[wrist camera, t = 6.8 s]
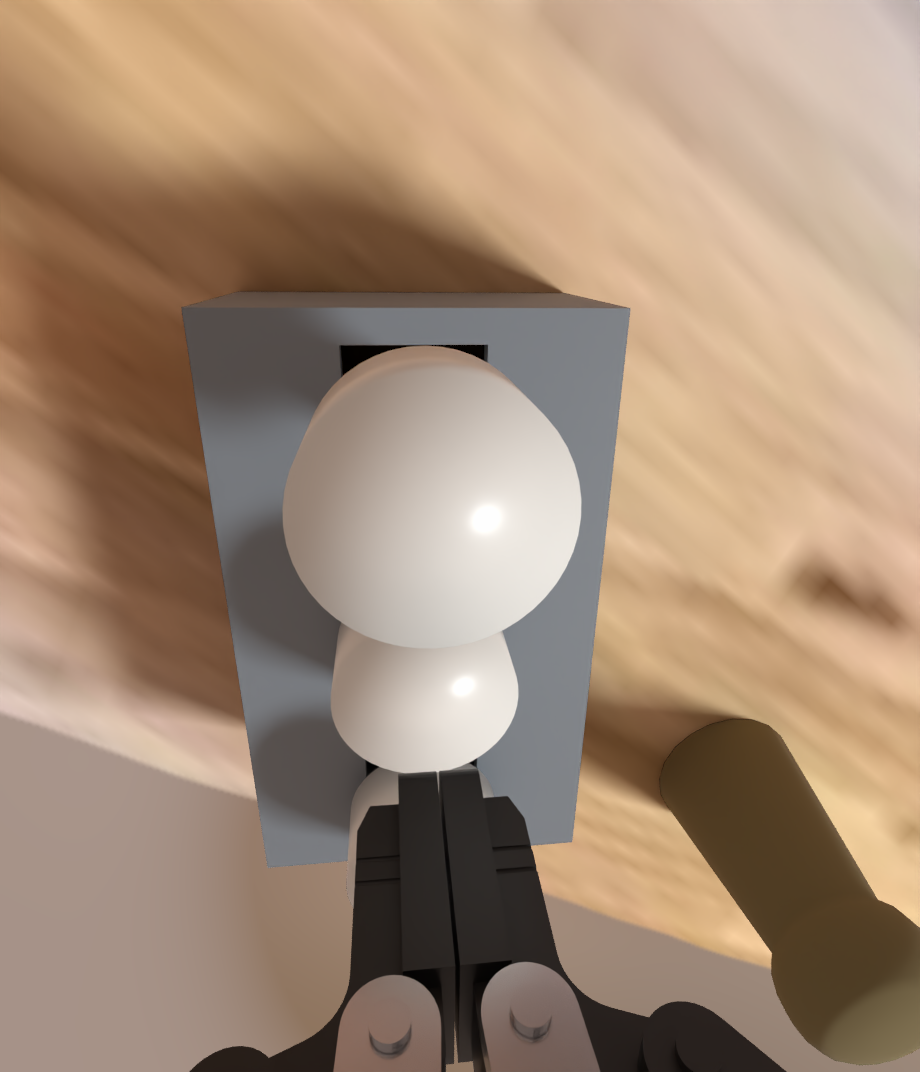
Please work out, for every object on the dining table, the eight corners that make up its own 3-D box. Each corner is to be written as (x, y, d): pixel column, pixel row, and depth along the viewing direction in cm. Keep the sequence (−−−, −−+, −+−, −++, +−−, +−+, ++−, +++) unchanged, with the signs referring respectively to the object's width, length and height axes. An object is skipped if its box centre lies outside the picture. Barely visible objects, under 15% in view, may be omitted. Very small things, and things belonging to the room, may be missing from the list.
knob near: (322, 314, 16) (265, 371, 8) (496, 314, 17) (594, 369, 9) (334, 481, 18) (296, 655, 10) (491, 477, 18) (569, 641, 11)
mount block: (238, 291, 19) (181, 307, 14) (564, 292, 20) (630, 308, 15) (291, 739, 26) (268, 867, 21) (534, 723, 27) (572, 841, 22)
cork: (795, 794, 31) (994, 1057, 21) (674, 837, 31) (812, 1116, 21) (777, 700, 28) (993, 947, 18) (645, 747, 29) (787, 1016, 18)
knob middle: (345, 492, 22) (323, 625, 14) (474, 489, 22) (522, 615, 15) (352, 606, 24) (337, 780, 16) (472, 601, 24) (514, 767, 16)
